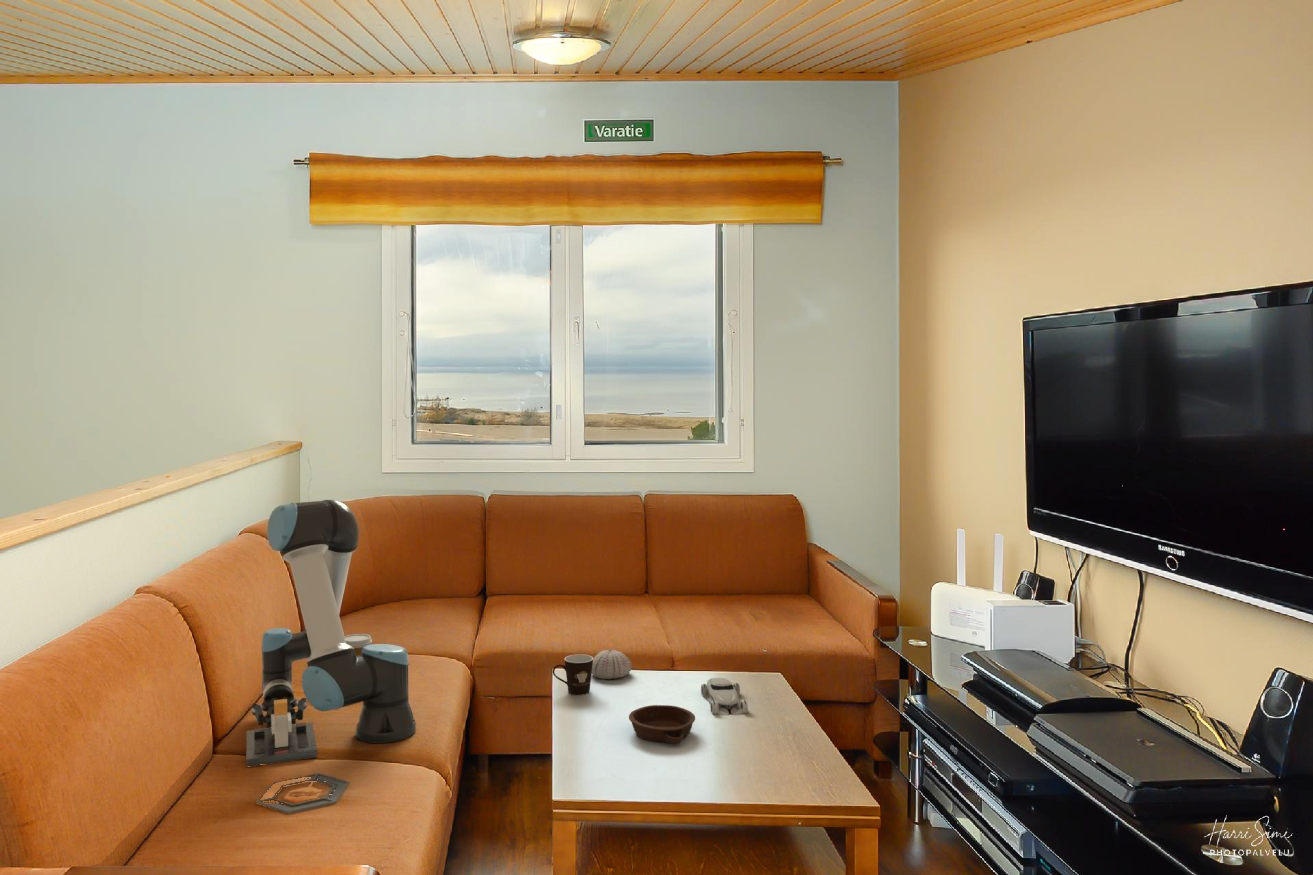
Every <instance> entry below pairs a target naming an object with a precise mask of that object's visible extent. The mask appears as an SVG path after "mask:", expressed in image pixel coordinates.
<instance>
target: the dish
mask: <svg viewBox="0 0 1313 875" xmlns="http://www.w3.org/2000/svg"><path fill="white" fill-rule="evenodd" d="M628 720H629V721H630V722H631V726H632V728H633V730H634V733H635V734H636V735H637V736H638V737H639V738H641V739H644V740H647V741H652V742H663V743H664V742H667V743H669V744H672V745H678V744H681V743H682V742H683V739H685V738H686V737H687V736H688V735H689V734H690V732H691V730H692V728H693V724H694V722H696V715H695V714H694V713H693V712H692V711H690V710H688V709H686V708H684V707H680V706H676V705H669V704H668V705H666V704H665V705H663V704H662V705H661V704H652V705H645V706H642V707H639V708H636V709H633V711H631V712H630V713H629V714H628Z"/></svg>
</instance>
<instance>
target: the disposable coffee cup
mask: <svg viewBox="0 0 1313 875" xmlns="http://www.w3.org/2000/svg"><path fill="white" fill-rule="evenodd" d="M344 637H345V641H346V643H347V644H348V645H350V646H351V647H353V648H354V651H355V655H356V656H358V655H362V653H361V651H362V648H363V647H365V646H366V645H372V642H373V639H372V637H371V635H370V634H366V633H356V634H349V635H346V636H345V635H344Z"/></svg>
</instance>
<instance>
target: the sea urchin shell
mask: <svg viewBox="0 0 1313 875" xmlns="http://www.w3.org/2000/svg"><path fill="white" fill-rule="evenodd" d="M632 669H633V666H632V662H631V660H630V659H629V657H627V656H626V655H625V654H624V653H623V652H621V651H619V650H615V649H604V650H601V651H600V652H598V653H597V654H596V655H594V657H593V665H592V674H591V675H592V676H594V678H597V679H603V680H611V679H613V680H614V679H618V678H623V677H625V676H628V675H629V673H630V672H631V671H632Z"/></svg>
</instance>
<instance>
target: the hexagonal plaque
mask: <svg viewBox="0 0 1313 875" xmlns="http://www.w3.org/2000/svg"><path fill="white" fill-rule="evenodd" d="M302 777H311V779H309V778H307V779H309V780H305V781H317V782H319V783H322V784H321V785H323V784H325V785H324V786H326V785H328V786H327V787H330V786H332V787H330V789H329V791H328V792H327V793H326V795H325V796H324V797H320V799H312V800H307V801H303V802H298V803H290V802H289V801H288V802H287V801H283V800H278V799H279V798H275V799H274V797H275V796H276V794H278V792H279V791H280V790H281V788H283V786H286V785H292V784H298V783H302V782H305V781H300V782H295V783H290V784H286V785H282V786H281V787H280V789H279V790H278V791H277V792H276V793H275V795H274V796H273V797H272V798H268V799H264V800H260V799H261V798H262V797H263V795H264V794H265V793H266V792H267V790H269V788H271V786H272V785H273V784H275V783H277V782H281V781H287V780H292V779H298V778H302ZM304 779H305V778H304ZM317 779H318V780H317ZM324 781H326V782H324ZM319 783H318V784H319ZM349 785H350V781H348V780H345V779H341V778H337V777H334V776H331V775H327V774H323V773H319V772H315V773H312V774H307V775H302V776H297V777H293V778H288V779H283V780H278V781H273V782H272V783H271V784H270V785H269V786H268V787H267V788H266V790H265V791H264V792H263V793H262V794H261V796H259V798H258V799H257V800H256V801H255V804H256V803H259V804H261V805H265V806H266V807H265V808H267V807H270V808H272V809H271V810H273V809H276V810H277V811H276V810H275V811H276V812H280V813H283V812H285V813H284V814H285V815H289V814H290V813H291V814H295V813H294V812H296V813H300V812H304V811H309V810H313V809H316V808H317V809H319V808H321V807H326V806H330V805H335V804H337V803H338V802H339V800H340V798H341V797H342V795H343V794H342V793H344V792H345V791H346V790H347V788H348V787H349ZM347 786H348V787H347ZM283 789H284V788H283ZM334 790H335V791H334ZM344 790H345V791H344ZM281 791H282V790H281ZM329 794H332V795H329ZM278 795H279V794H278ZM340 796H341V797H340ZM276 797H277V796H276ZM328 797H329V798H328ZM339 797H340V798H339ZM338 799H339V800H338ZM269 800H270V801H271V800H274V801H278V802H279V804H277V803H276V802H275V803H274V804H273V802H270V803H272V804H269V802H264V803H262V802H263V801H269ZM265 803H268V804H265ZM281 803H283V804H281ZM284 805H285V806H284ZM270 808H269V809H270ZM308 809H309V810H308ZM303 810H304V811H303ZM299 811H300V812H299Z"/></svg>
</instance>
